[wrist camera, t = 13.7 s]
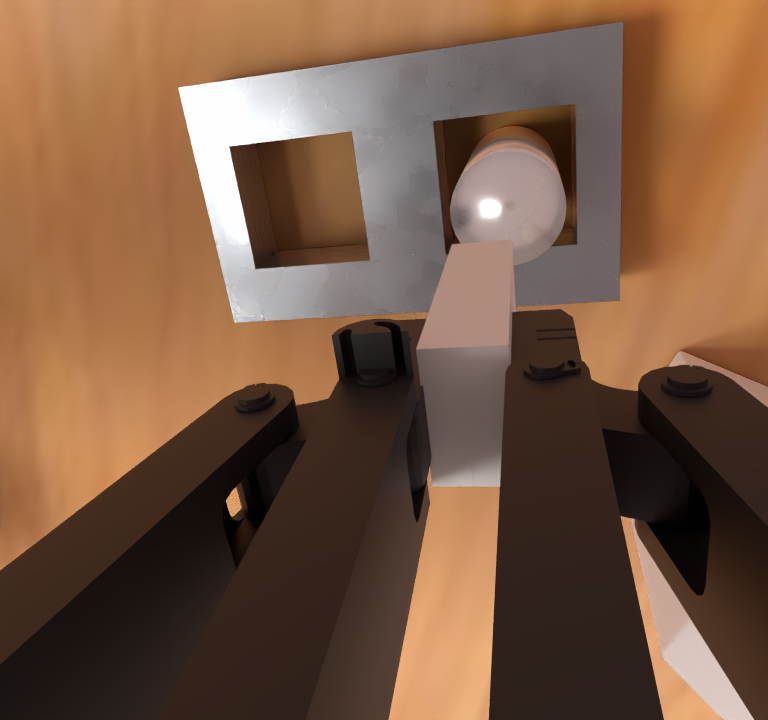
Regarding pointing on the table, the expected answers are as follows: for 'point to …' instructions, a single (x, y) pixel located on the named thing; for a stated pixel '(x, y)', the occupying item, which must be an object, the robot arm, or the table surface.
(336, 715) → the robot arm
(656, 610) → the milk carton
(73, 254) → the table surface
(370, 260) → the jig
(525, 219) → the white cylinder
